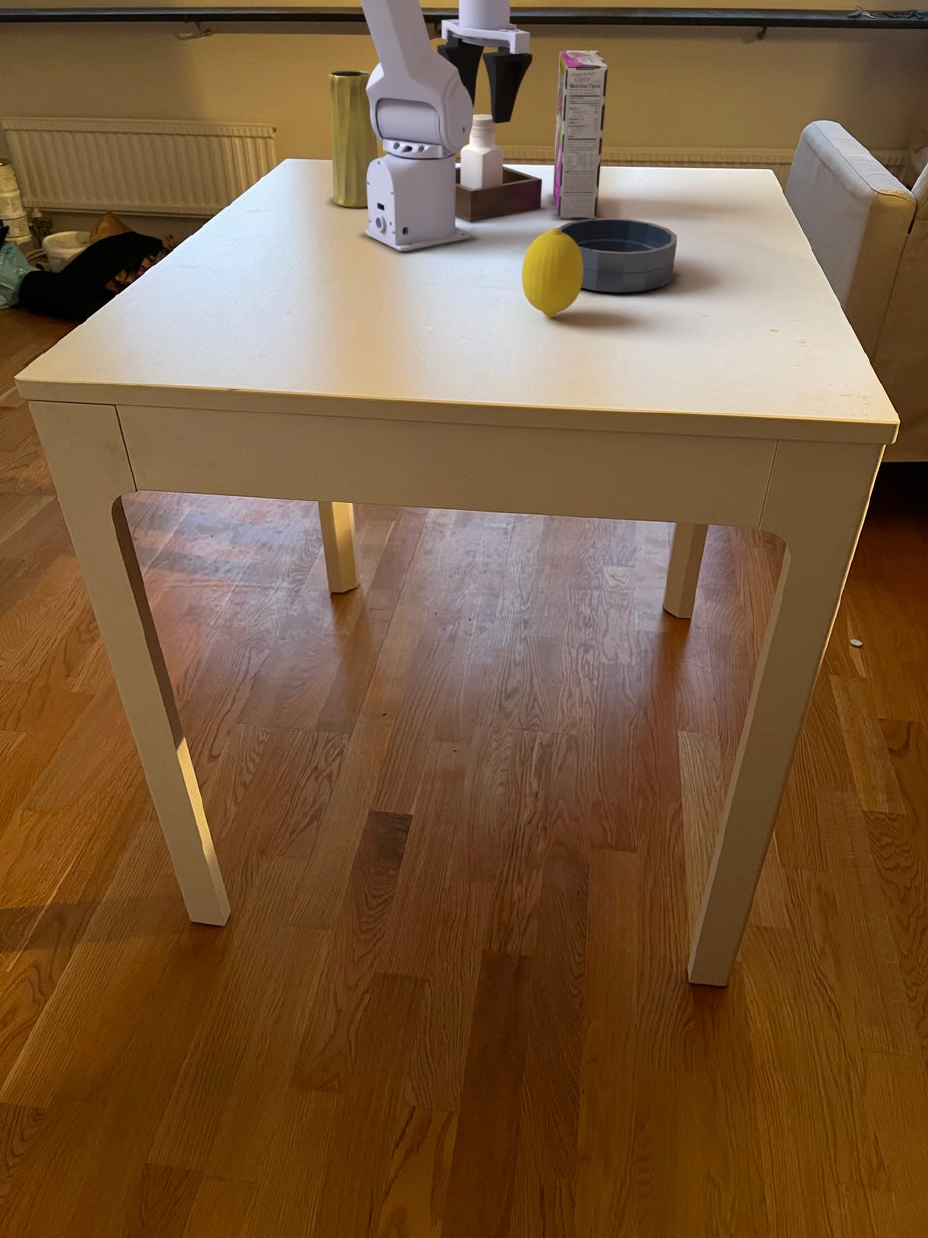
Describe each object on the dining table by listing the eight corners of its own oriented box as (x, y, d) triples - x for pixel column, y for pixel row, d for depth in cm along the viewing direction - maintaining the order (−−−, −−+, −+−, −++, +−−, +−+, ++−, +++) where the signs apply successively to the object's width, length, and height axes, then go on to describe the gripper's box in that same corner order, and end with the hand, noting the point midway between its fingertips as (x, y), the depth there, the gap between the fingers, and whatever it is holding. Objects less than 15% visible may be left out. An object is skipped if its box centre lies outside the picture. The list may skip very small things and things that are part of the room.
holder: (470, 222, 114) (471, 191, 112) (422, 202, 121) (422, 172, 119) (540, 209, 119) (542, 178, 117) (490, 190, 126) (491, 161, 124)
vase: (351, 210, 118) (343, 78, 109) (324, 200, 122) (314, 71, 113) (391, 202, 121) (386, 73, 112) (364, 192, 125) (357, 67, 116)
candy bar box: (550, 195, 124) (558, 49, 114) (588, 196, 124) (600, 49, 114) (555, 220, 115) (565, 63, 105) (597, 220, 115) (610, 64, 105)
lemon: (531, 330, 87) (536, 239, 82) (512, 309, 91) (516, 221, 86) (588, 325, 88) (596, 234, 83) (567, 304, 92) (573, 217, 88)
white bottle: (458, 201, 120) (458, 116, 114) (480, 195, 122) (482, 111, 116) (481, 207, 118) (483, 121, 112) (503, 201, 120) (506, 116, 114)
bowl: (606, 303, 93) (610, 261, 90) (529, 269, 101) (531, 229, 98) (696, 280, 98) (702, 239, 96) (616, 249, 106) (620, 211, 104)
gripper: (554, -18, 103) (547, 123, 111) (477, -27, 112) (475, 103, 121) (501, -15, 100) (497, 129, 108) (426, -25, 109) (427, 109, 117)
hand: (482, 116), depth 114 cm, fingers open, 7 cm apart
